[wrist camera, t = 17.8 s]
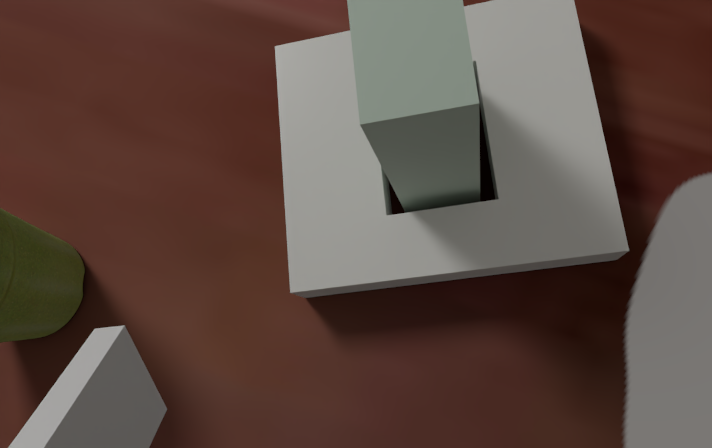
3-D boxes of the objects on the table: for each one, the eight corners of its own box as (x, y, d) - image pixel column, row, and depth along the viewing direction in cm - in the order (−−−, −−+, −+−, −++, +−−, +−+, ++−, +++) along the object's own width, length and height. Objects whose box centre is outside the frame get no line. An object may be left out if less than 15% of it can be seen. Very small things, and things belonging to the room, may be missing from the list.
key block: (405, 212, 30) (360, 124, 19) (393, 111, 32) (344, -26, 21) (480, 201, 30) (479, 103, 18) (464, 98, 31) (454, -52, 20)
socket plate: (305, 297, 30) (290, 292, 28) (289, 68, 34) (274, 46, 32) (616, 260, 28) (629, 250, 25) (563, 12, 31) (570, -16, 29)
